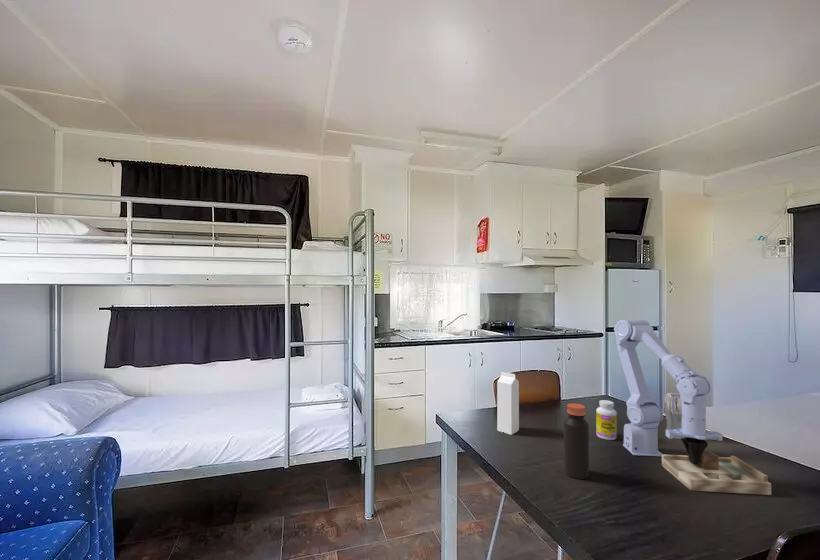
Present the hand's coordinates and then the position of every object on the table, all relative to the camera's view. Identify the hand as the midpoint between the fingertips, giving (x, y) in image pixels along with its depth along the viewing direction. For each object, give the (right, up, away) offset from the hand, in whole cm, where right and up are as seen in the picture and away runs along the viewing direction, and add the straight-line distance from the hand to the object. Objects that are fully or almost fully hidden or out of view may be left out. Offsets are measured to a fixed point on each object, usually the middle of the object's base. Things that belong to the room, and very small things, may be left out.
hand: (693, 463), depth 111 cm
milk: (-46, -4, +33) cm, 57 cm away
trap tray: (+3, -3, -3) cm, 5 cm away
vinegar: (-35, -3, 0) cm, 35 cm away
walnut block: (+3, -1, 0) cm, 3 cm away
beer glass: (+15, -4, +28) cm, 32 cm away
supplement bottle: (-12, -4, +27) cm, 30 cm away
